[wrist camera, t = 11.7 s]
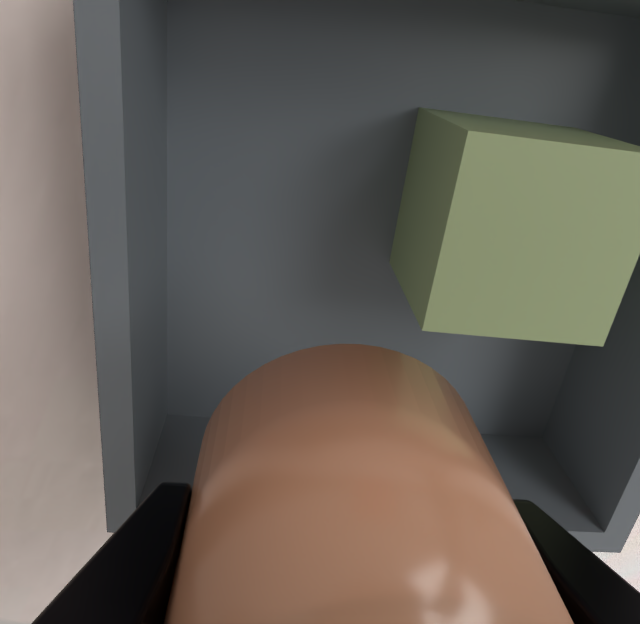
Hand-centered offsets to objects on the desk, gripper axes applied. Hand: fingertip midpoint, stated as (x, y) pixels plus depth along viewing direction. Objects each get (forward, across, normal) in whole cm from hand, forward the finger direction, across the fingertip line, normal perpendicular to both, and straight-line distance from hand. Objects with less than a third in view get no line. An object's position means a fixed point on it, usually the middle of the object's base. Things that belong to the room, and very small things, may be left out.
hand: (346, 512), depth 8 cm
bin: (+9, -2, -1) cm, 9 cm away
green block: (+8, -4, -3) cm, 10 cm away
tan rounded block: (+1, 0, 0) cm, 1 cm away
